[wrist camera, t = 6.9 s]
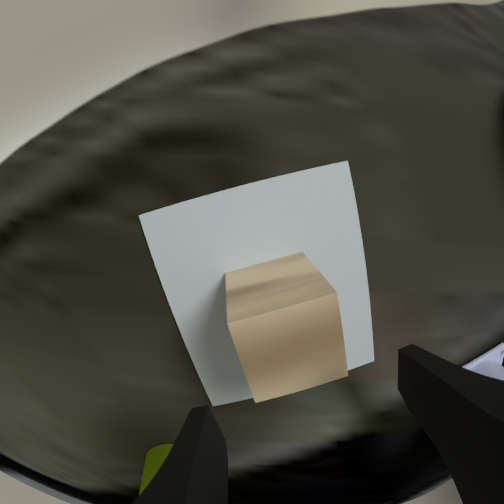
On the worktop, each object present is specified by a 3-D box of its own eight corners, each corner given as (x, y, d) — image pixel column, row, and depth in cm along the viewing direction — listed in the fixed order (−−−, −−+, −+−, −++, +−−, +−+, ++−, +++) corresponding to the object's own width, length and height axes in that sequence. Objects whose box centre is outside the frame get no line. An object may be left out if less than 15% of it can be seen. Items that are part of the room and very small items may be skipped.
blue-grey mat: (373, 360, 21) (374, 360, 21) (212, 405, 21) (212, 406, 21) (347, 160, 17) (347, 160, 17) (139, 215, 17) (138, 215, 17)
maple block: (315, 318, 19) (348, 375, 14) (245, 338, 19) (255, 402, 14) (302, 251, 18) (337, 292, 12) (225, 272, 18) (227, 323, 12)
